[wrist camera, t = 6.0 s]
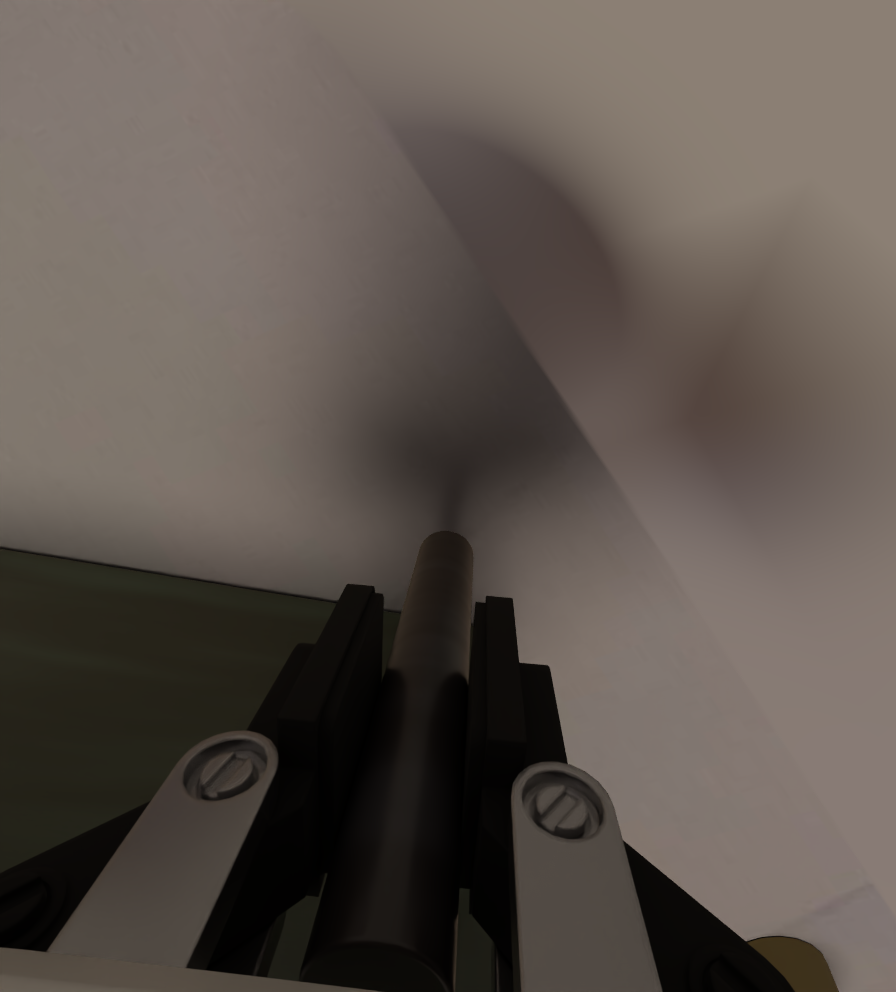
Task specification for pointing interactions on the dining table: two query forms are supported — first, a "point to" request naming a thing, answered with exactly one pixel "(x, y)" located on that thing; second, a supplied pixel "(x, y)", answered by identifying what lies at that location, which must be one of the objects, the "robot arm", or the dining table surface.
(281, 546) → the dining table surface
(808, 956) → the brown rounded tall piece
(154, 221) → the dining table surface
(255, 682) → the cupboard door
